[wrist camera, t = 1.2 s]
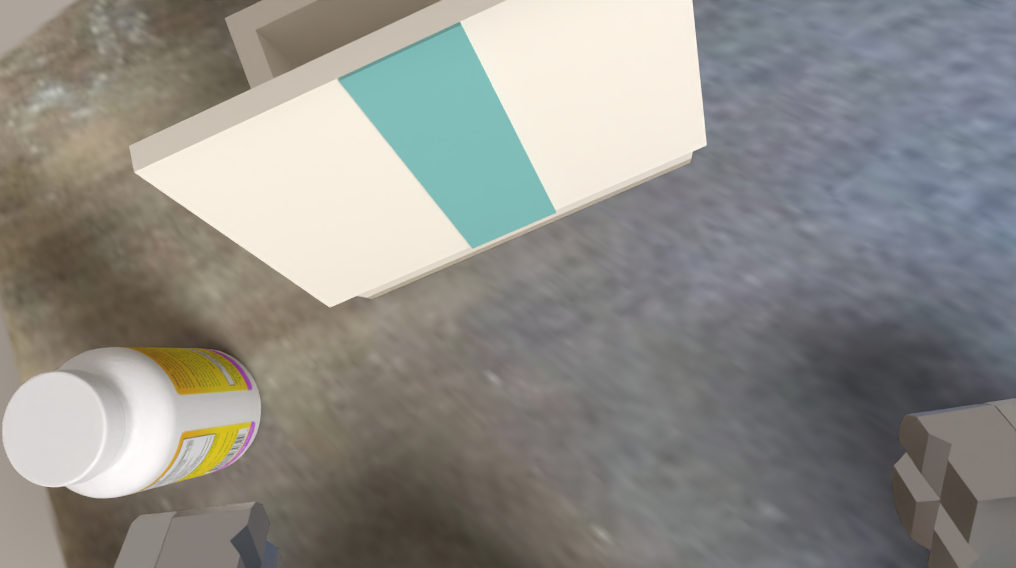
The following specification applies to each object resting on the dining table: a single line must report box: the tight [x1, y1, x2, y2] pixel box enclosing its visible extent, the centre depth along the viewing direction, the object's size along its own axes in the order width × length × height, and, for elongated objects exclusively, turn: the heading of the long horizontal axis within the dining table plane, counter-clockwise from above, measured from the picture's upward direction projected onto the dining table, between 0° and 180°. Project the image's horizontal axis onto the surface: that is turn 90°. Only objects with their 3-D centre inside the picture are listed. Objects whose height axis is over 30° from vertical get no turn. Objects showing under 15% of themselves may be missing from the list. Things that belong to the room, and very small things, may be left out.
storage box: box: [225, 0, 692, 299], centre depth 44 cm, size 18×14×7 cm
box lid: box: [129, 0, 707, 307], centre depth 33 cm, size 18×14×1 cm
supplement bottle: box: [2, 347, 261, 498], centre depth 42 cm, size 7×7×13 cm
